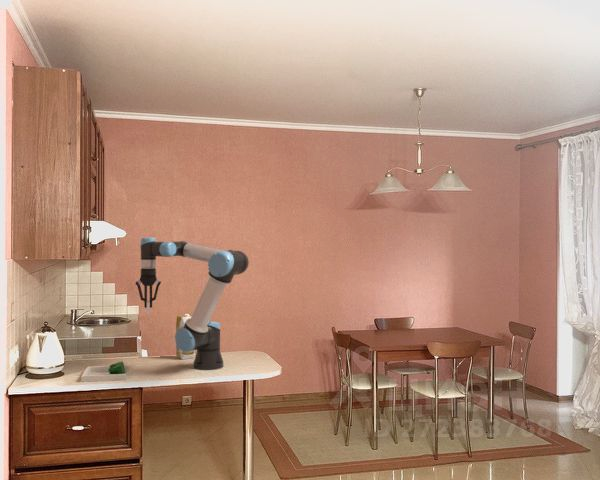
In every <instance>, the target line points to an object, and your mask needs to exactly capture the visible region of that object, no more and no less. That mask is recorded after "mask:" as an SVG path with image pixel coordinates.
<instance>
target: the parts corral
mask: <svg viewBox="0 0 600 480" xmlns="http://www.w3.org/2000/svg"><path fill="white" fill-rule="evenodd" d="M109 368H110V365H97V366H96V365H94V366H87V367H86V369H84V371H83V373H82V375H81V377H80V378H81V379H80V381H81V383H87V382H106V381H107V382H109V381H110V382H111V381H112V380H114V381H126V380H127V373H125V374H110V372H109V370H108V369H109ZM124 368H125V372H129V370H130V365H129V364H124ZM102 372H103V373H104V372H105V373H107V372H108V373H109V374H91V373H102Z"/></svg>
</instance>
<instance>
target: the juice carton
mask: <svg viewBox="0 0 600 480" xmlns="http://www.w3.org/2000/svg"><path fill="white" fill-rule="evenodd" d="M191 317H192V314H191V315H190V314H188V313H185V314H184V315H177V316H176V319H175V333H176V332H177V330H178V329H180V328H183V327H184V324H185V322H186V320H187V319H190V318H191ZM175 356H176V358H177V359H179V360H190V359H195V356H196V350H193V351H187V352H185V351H182V350H181V349H179V347H178V346H177V344H176V343H175Z"/></svg>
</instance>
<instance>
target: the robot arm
mask: <svg viewBox="0 0 600 480" xmlns="http://www.w3.org/2000/svg"><path fill="white" fill-rule="evenodd" d="M157 257H161V258H162V257H165V258H170V257H183V258H188V259H192V260H197V261H200V262H204V263H207V266H208V272H207V274H208V276H209V278H208V280H207V282H206V285H205V286H204V289H203V291H202V293H201V295H200V298H199V299H198V302H197V304H196V306H195V308H194V311H193V313H192V314H191V316H192V317H191V318H190V319H187V320H186V322H185V324H184V327H183V328H180V329H178V330H177V332H176V331H175V335H174V341H175V345H176V344H177V346H178V347H179V349H181V350H182V351H185V352H187V351H193V350H195V351H196V352H195V357H194V358H193V359H194V360H193V368H194V369H197V370H218V369H221V368H223V367H224V360H223V357H222V354H221V324H220V322H219V321H212V320H211V318H212V316H213V313H214V312H215V309H216V307H217V306H218V303H219V301H220V298H221V296H222V294H223V292H224V290H225V287H226V285H229V284H231V283H232V280H233V279H234V276H237V275H241V274H243V273H244V272H247V269H248V267H249V263H250V262H249V258H248V256H247V254H246V253H244V252H243V251H241V250H232V249H228V250H223V249H217V248H215V247H214V248H213V247H207V246H204V245H199V244H194V243H190V242H189V241H184V240H181V241H157V239H156V237H142V238H141V240H140V278H139V280H137V281H135V285H136V286H137V290H138V293H139V294H138V295H139V297H140V301H142V302H143V305H144V309H145V308H146V315H151V308H153V301H155V300H156V299H157V295H158V291H159V288H160V285H161V284H162V281H160V280H159V279H158V278H157V270H156V267H157ZM141 284H142V285H143V286H144V291H143V292H142V288H141ZM154 284H156V286H155V290H154V295H153V286H154ZM148 287H149V300H148ZM143 293H144V295H143ZM210 320H211V321H210Z"/></svg>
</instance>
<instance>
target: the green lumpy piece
mask: <svg viewBox="0 0 600 480" xmlns="http://www.w3.org/2000/svg"><path fill="white" fill-rule="evenodd" d="M124 365H125V364H124V361H118V362H115V363H112V364H110V365H109V366H110V368H109V369H108V370H109V372H108V373H109V375H110V374H127V373H126V372H127V371H125V368H124Z"/></svg>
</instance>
